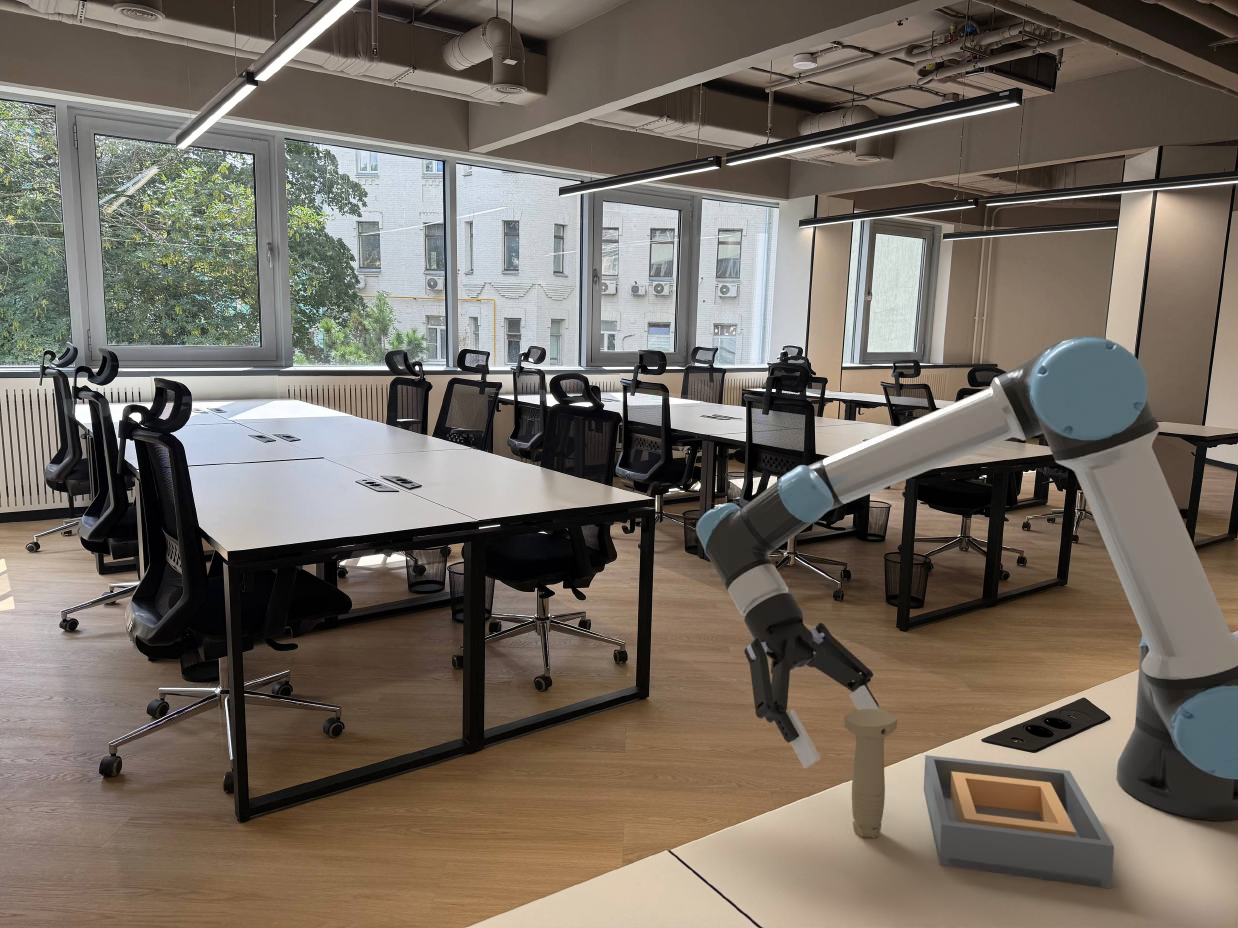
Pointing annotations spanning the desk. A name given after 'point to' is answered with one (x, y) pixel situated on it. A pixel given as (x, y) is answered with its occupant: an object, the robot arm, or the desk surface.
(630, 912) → the desk surface
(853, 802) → the handle
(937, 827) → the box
